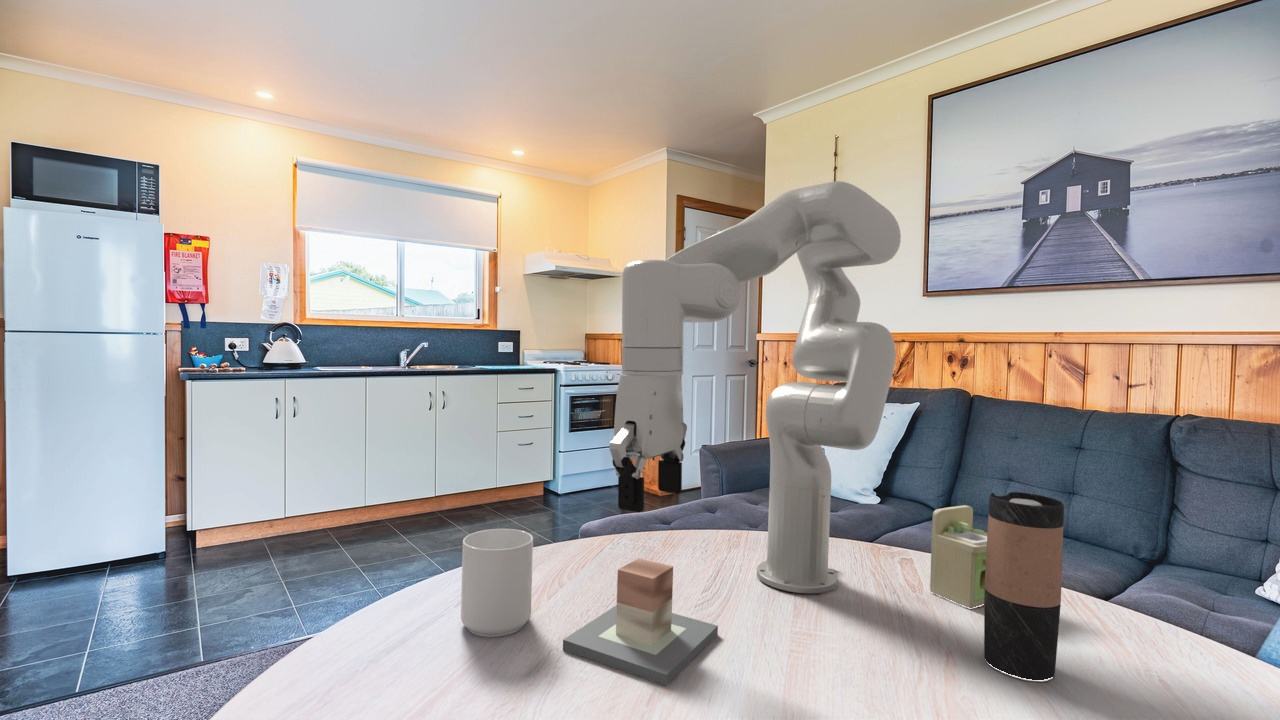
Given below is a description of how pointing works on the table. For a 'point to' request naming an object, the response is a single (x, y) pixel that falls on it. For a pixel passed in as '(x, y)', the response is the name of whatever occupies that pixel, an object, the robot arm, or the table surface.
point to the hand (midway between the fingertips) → (651, 500)
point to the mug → (496, 581)
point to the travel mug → (1023, 584)
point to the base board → (642, 646)
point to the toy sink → (958, 556)
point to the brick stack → (644, 601)
